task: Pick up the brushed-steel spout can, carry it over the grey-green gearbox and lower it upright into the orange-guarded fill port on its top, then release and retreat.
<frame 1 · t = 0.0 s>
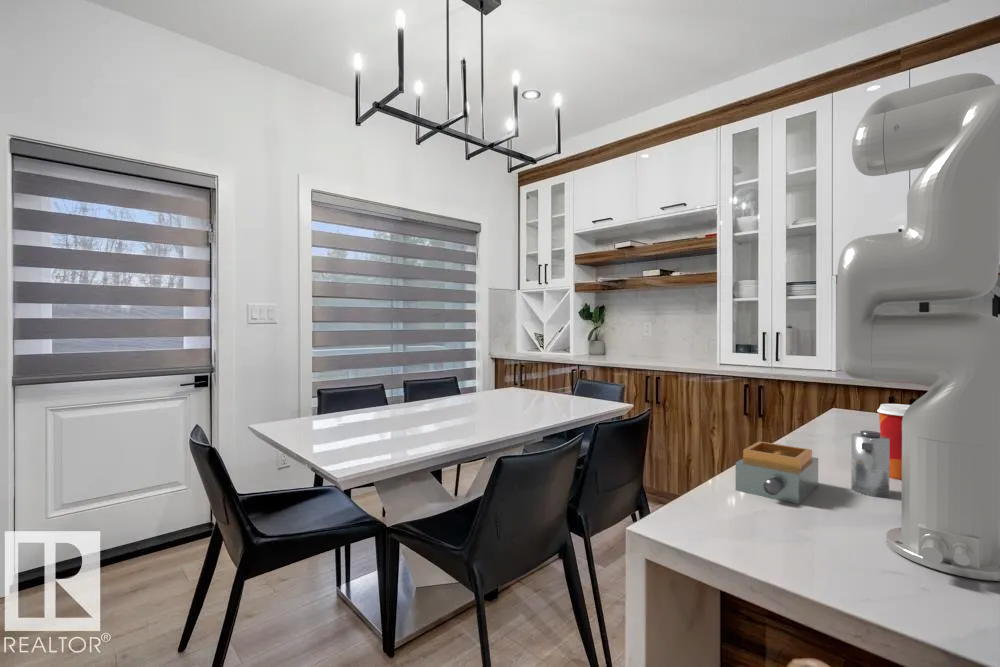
hand: (959, 319, 92), 31 cm above the counter, fingers open, 9 cm apart
gearbox: (777, 487, 87), on the counter
spout can: (869, 491, 85), on the counter
paper cup: (900, 477, 93), on the counter
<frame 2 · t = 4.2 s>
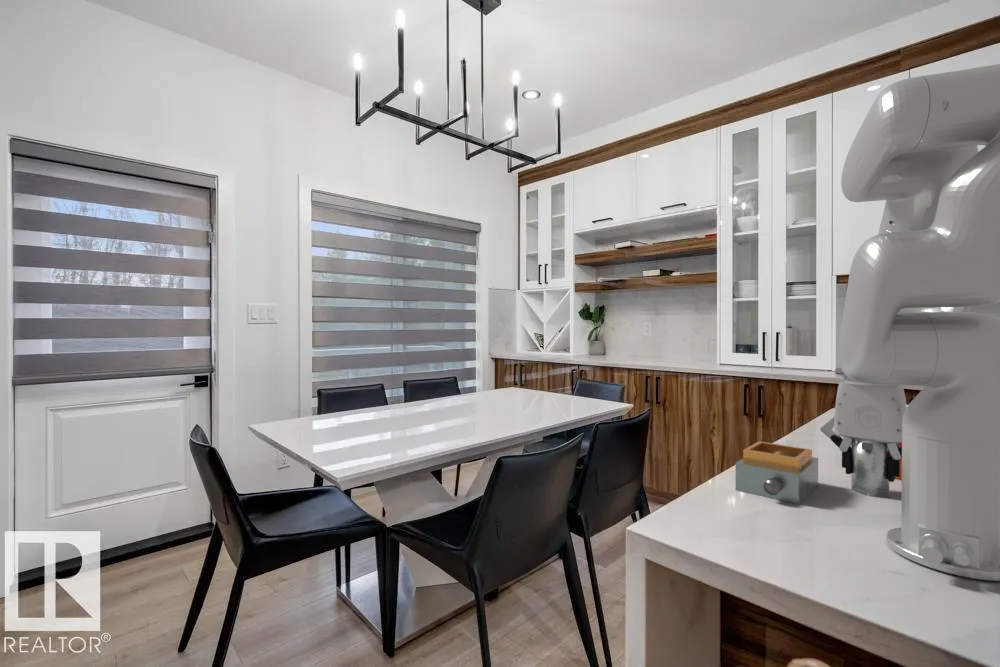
hand: (870, 475, 85), 3 cm above the counter, fingers closed on spout can, 5 cm apart
spout can: (869, 491, 85), on the counter, touching gripper
everything else where it was.
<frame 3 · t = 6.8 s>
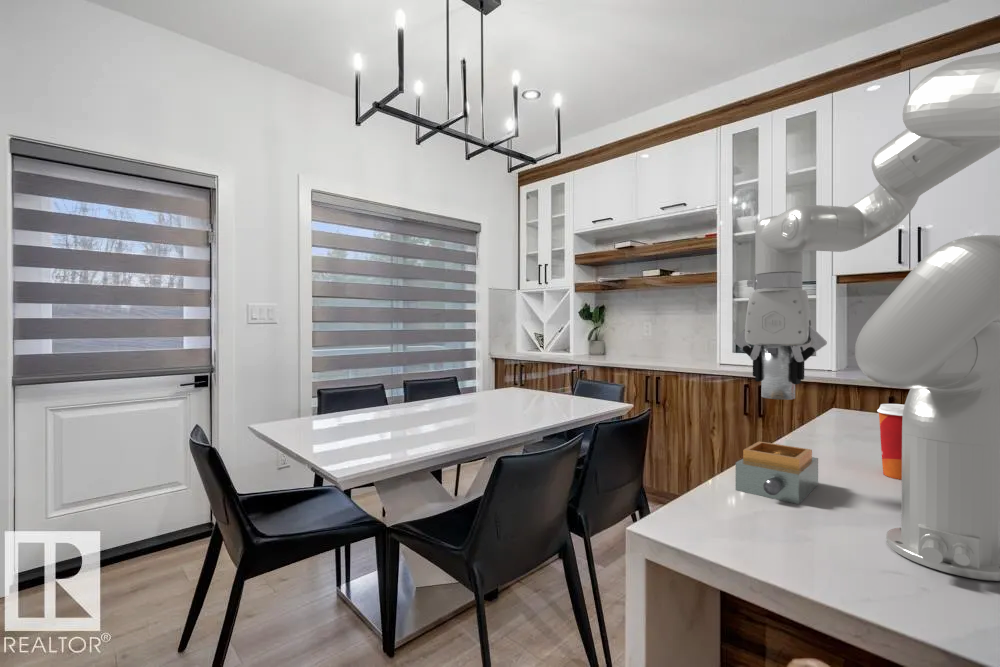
hand: (777, 381, 87), 20 cm above the counter, fingers closed on spout can, 5 cm apart
spout can: (777, 397, 87), point 17 cm above the counter, touching gripper
everything else where it was.
when the fingers open (9 cm above the counter, at t = 9.5 s): spout can stays where it is, resting on gearbox.
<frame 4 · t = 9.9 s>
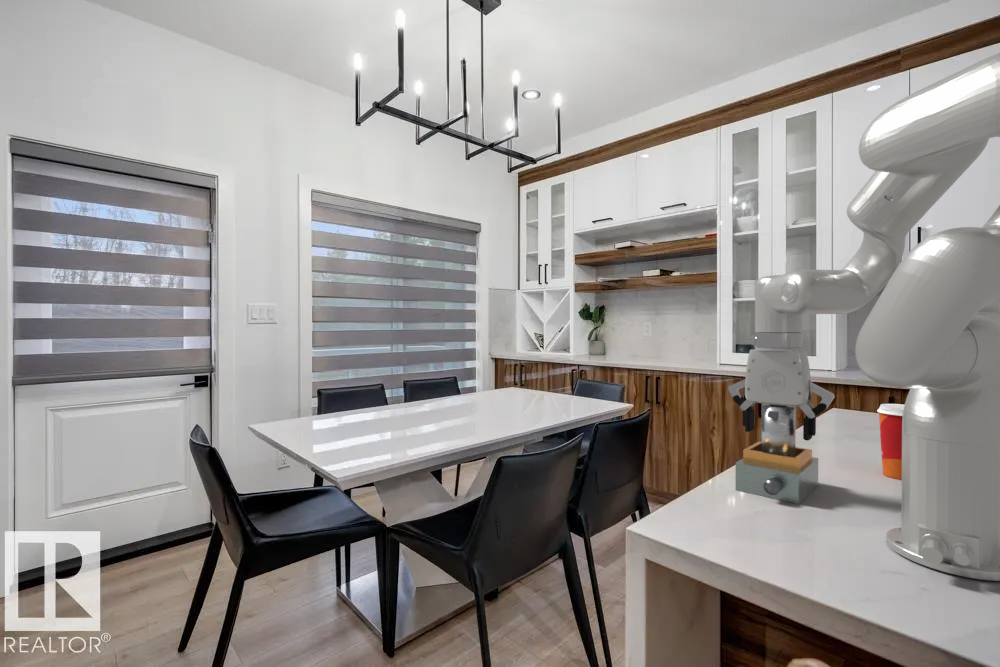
hand: (777, 434, 87), 10 cm above the counter, fingers open, 9 cm apart
spout can: (778, 459, 87), point 5 cm above the counter, touching gearbox
everything else where it was.
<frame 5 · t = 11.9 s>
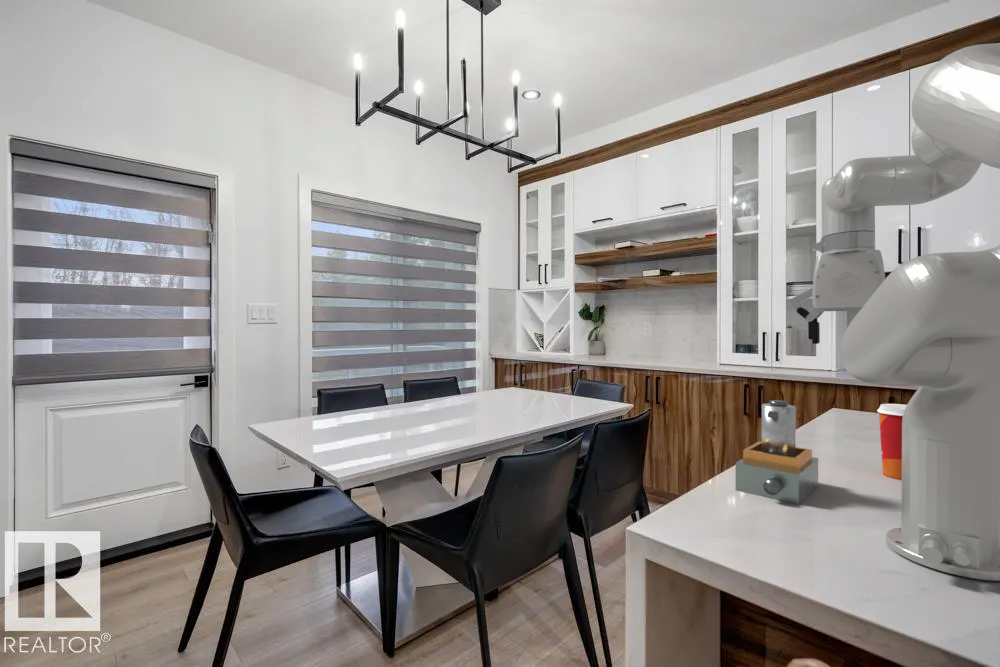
hand: (848, 343, 82), 27 cm above the counter, fingers open, 9 cm apart
nothing on the counter moved.
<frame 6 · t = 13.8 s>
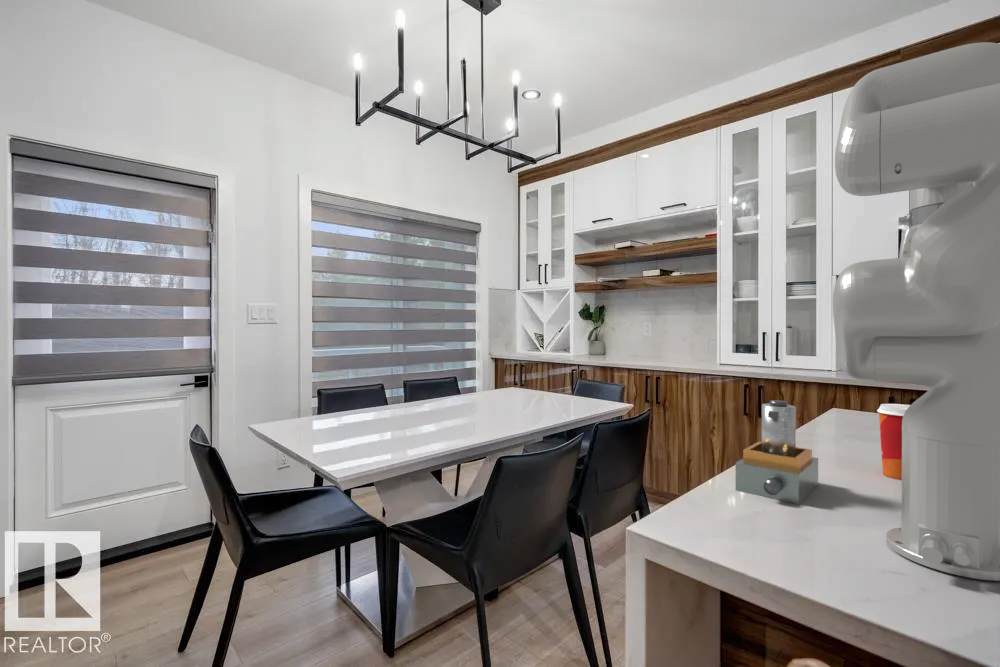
hand: (939, 323, 77), 30 cm above the counter, fingers open, 9 cm apart
nothing on the counter moved.
at the end: spout can 0.1 cm off-centre on the gearbox, point 5.2 cm above the gearbox's base; spout can tilted 0°; the gripper is holding nothing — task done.
